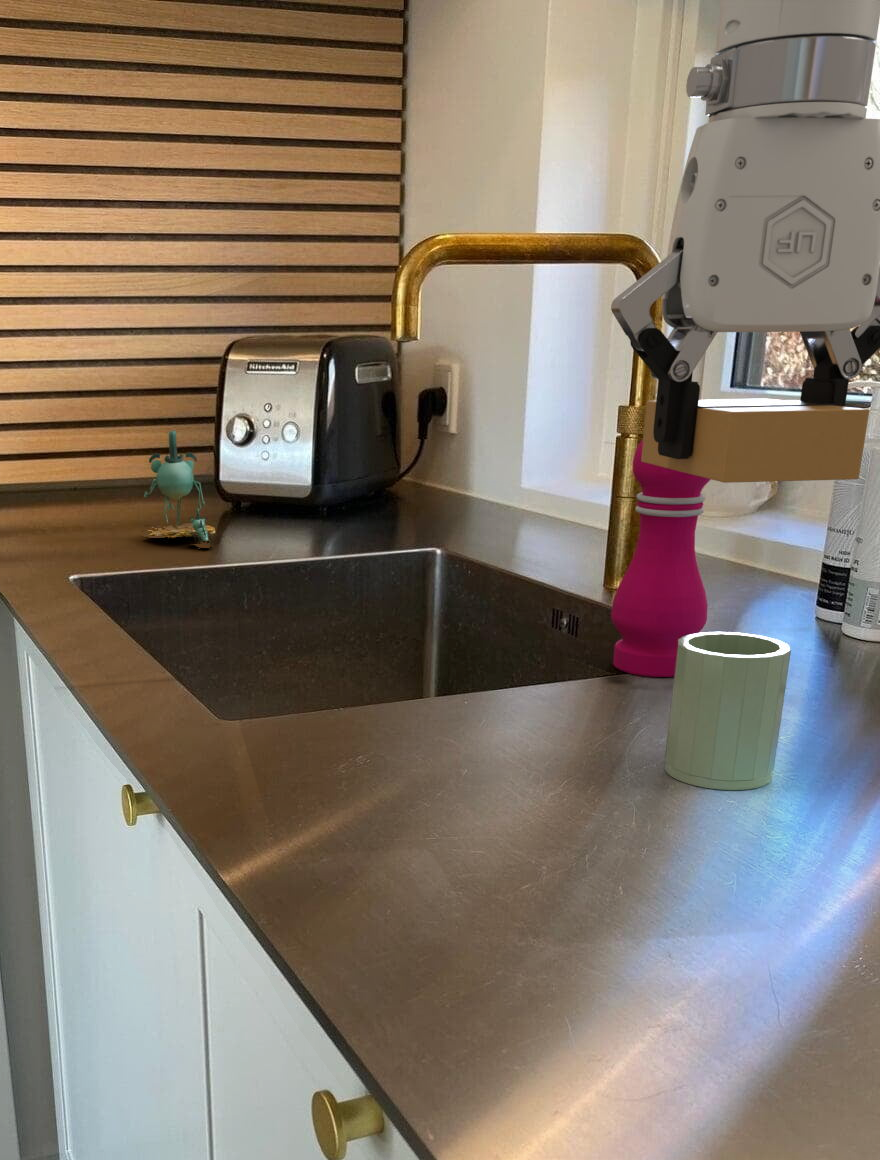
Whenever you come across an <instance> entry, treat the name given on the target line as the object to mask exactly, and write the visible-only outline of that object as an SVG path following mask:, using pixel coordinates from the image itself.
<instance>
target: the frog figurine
mask: <svg viewBox="0 0 880 1160" xmlns="http://www.w3.org/2000/svg"><path fill="white" fill-rule="evenodd" d="M168 448H169V449H168V450H169V455H168V454H166V455H165V457H164V462H162V461H161V460H159V459H160V458H161V454H160V453H159V452H155V453H153V454H152V455H151V456H150V457H149V459H148V463H149V464H150V467H151V468H150V470H151V471H152V472H153V473H155V474H156V476H155V477H156V478H153V479H152V483H151V485H150V487H149V492H148V491H145V492H144V494H143V497H144V498H145V499H147V497H148V495H150V494H152V492H153V491H154V489H155V488H156V487H157V488H158V489H159V491H160V492H161V494H162V495H164V497H165V499H164V507H163V508H164V509H163V515H164V517H165V522H166V524H169V521H168V515H167V513H166V511H167V512H168V513H169V512H170V510H171V508H172V510H173V511H175V506H174V504H173V503H172V502H170V500H169V499H171V500H174V501H176V500H177V501H176V502H177V503H176V524H175V525H168V526H167V527H165V526H160V527H161V528H158V529H157V528H154V527H153V526H151V527H150V529H153V530H155V531H153V530H148V529H147V530H148V531H152V533H151V534H148V535H150V536H158V537H159V536H167V537H168V538H167V539H177V538H176V537H179V538H182V537H181V536H185V537H184V538H189V537H194V538H195V539H196V536H195V535H196V534H198V535H199V536H197V538H198V539H199V542H203V541H209V542H210V538H209V537H210V535H208V534H211V535H214V534H216V529H215V526H211V525H207V524H206V519H207V517H206V516H205V515H203V516H200V510H201V509H202V507H205V506H206V504H205V503H206V502H205V500H204V497H203V490H202V485H201V482H199V481H197V480H195V479H194V478H195V477H194V473H193V470H194V468H195V467H194V465H195V464H194V461H195V462H198V458H197V456H196V455H195V454H194V453H193V452H186V453H185V458H191V459H193V460H194V461H192V460H190V459H188V460H185V461H184V454H183V453H180V454H179V455H178V447H177V432H176V431H175V430H174V429H172V430H170V431H169V432H168ZM197 484H198V485H199V486H198V485H197ZM193 486H195V488H196V489H197V491H198V505H197V506H198V507H197V508H196V517H194V516H190V517H189V520H190V522H189V523H183V524H181V525H179V524H180V521H181V506H182V501H183V497H185V496H187V495H189V494H190V493H191V491H192V489H193ZM201 501H202V502H201ZM156 530H158V531H156ZM192 535H194V536H192ZM170 537H171V538H170ZM194 538H193V539H194ZM198 549H200V548H198ZM200 550H201V549H200Z"/></svg>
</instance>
